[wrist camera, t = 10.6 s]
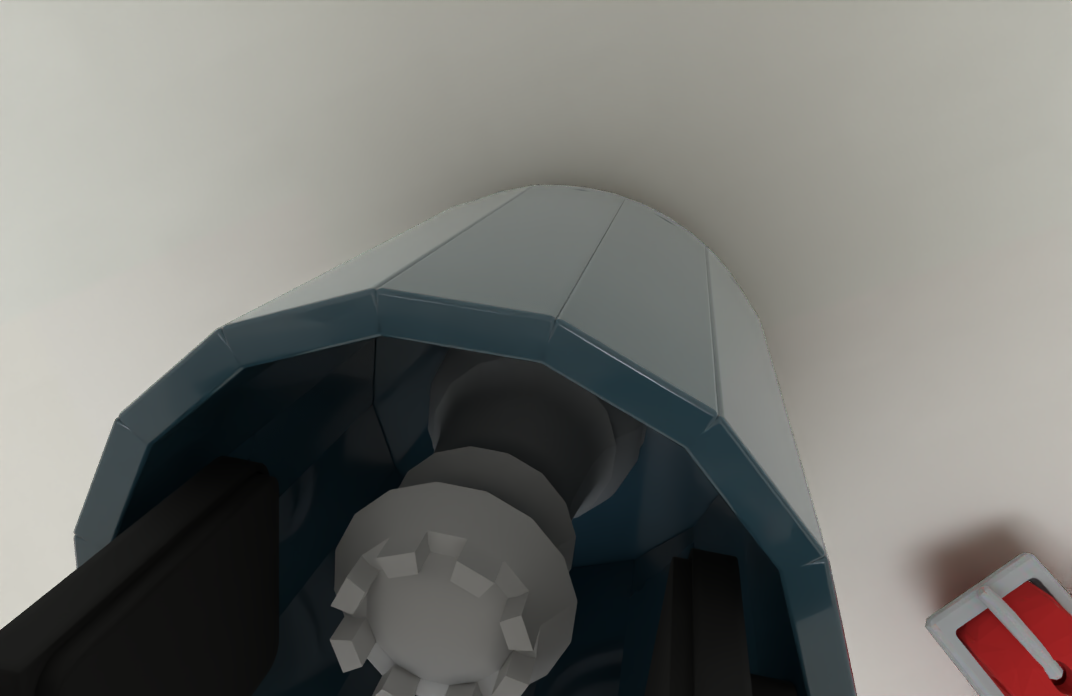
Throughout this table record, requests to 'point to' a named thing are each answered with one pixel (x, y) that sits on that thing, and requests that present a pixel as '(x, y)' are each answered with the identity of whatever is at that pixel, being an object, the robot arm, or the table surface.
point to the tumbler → (525, 334)
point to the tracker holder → (1010, 632)
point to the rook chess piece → (480, 533)
